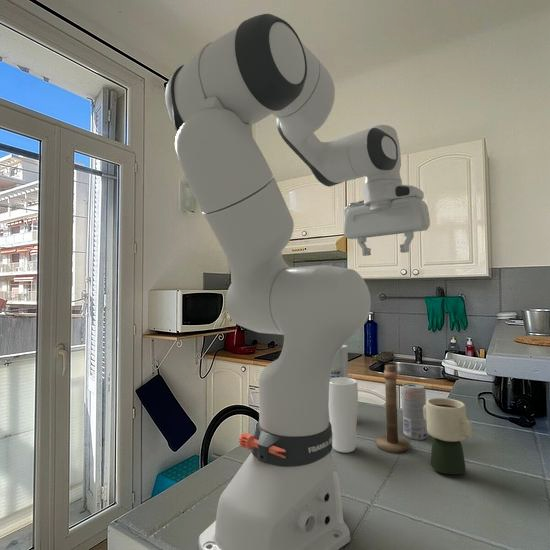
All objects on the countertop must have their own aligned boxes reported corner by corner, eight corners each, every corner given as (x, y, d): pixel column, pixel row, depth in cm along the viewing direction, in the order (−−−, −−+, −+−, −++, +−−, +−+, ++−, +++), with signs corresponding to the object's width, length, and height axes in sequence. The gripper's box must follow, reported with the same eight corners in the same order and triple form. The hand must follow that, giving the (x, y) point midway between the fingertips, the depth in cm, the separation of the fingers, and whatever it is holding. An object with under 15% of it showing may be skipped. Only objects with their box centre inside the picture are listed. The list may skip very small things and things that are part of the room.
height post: (402, 456, 74) (399, 370, 75) (371, 447, 79) (369, 366, 80) (413, 445, 80) (411, 365, 81) (384, 437, 84) (381, 361, 85)
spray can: (321, 419, 97) (320, 346, 98) (332, 412, 102) (330, 343, 103) (342, 423, 93) (341, 348, 94) (353, 416, 98) (351, 345, 100)
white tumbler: (357, 457, 74) (355, 385, 75) (325, 452, 76) (324, 383, 77) (360, 444, 81) (359, 378, 81) (331, 440, 83) (330, 376, 84)
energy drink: (423, 431, 87) (421, 383, 88) (430, 440, 82) (428, 388, 83) (400, 431, 88) (399, 382, 89) (406, 440, 83) (405, 388, 83)
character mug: (486, 479, 65) (483, 408, 65) (459, 488, 62) (457, 413, 63) (438, 455, 75) (435, 393, 75) (412, 461, 72) (410, 397, 73)
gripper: (338, 202, 88) (340, 256, 88) (421, 185, 75) (424, 249, 75) (350, 206, 93) (352, 257, 93) (430, 190, 80) (433, 251, 80)
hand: (385, 254), depth 84 cm, fingers open, 8 cm apart
